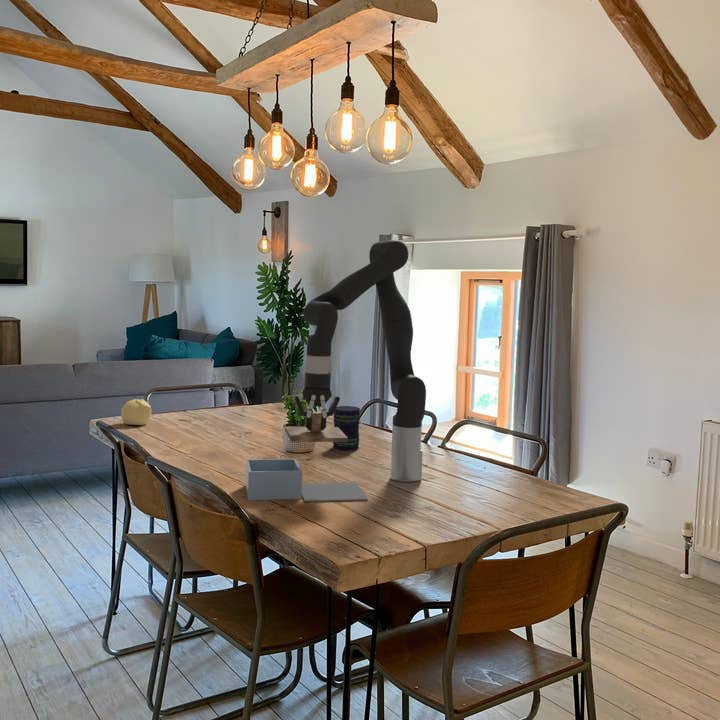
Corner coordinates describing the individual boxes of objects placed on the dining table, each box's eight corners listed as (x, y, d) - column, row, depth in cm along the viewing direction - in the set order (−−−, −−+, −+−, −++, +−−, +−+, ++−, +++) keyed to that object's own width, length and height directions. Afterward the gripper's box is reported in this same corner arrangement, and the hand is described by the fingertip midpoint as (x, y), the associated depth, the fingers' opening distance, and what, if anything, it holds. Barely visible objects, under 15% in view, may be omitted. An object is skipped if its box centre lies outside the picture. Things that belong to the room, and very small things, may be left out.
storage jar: (358, 451, 281) (360, 411, 280) (331, 450, 282) (333, 410, 280) (359, 445, 291) (360, 406, 290) (333, 444, 292) (334, 405, 290)
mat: (355, 483, 237) (355, 482, 237) (367, 500, 219) (367, 499, 219) (297, 485, 233) (297, 483, 233) (304, 502, 215) (304, 500, 215)
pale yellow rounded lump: (154, 426, 316) (154, 400, 315) (125, 428, 310) (125, 401, 309) (147, 421, 326) (147, 395, 324) (118, 423, 320) (118, 397, 318)
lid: (337, 430, 233) (338, 409, 232) (347, 442, 217) (348, 418, 217) (284, 430, 230) (285, 408, 229) (291, 441, 214) (292, 418, 214)
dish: (295, 484, 233) (296, 458, 233) (301, 498, 219) (302, 471, 218) (245, 485, 230) (245, 459, 230) (248, 500, 216) (248, 472, 215)
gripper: (339, 370, 227) (337, 427, 229) (292, 368, 224) (289, 427, 226) (344, 373, 220) (341, 432, 221) (295, 372, 217) (292, 432, 218)
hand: (315, 429), depth 223 cm, fingers closed on lid, 3 cm apart
